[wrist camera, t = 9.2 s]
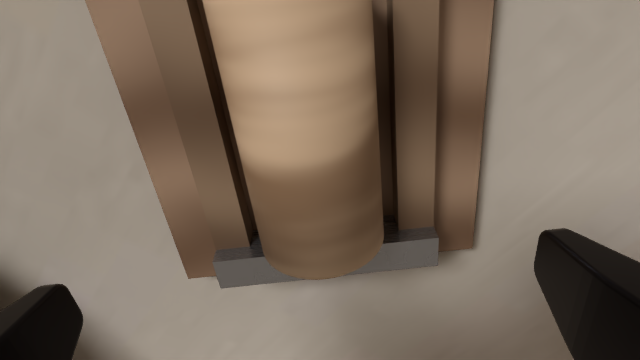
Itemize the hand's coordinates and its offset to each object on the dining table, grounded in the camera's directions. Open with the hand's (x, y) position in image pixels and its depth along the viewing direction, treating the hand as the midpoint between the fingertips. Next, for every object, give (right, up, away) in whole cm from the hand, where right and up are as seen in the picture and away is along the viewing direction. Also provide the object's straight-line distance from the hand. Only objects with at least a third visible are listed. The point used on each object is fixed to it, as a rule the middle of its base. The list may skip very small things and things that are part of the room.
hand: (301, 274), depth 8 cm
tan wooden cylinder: (0, +5, +8) cm, 10 cm away
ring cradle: (0, +5, +9) cm, 10 cm away
